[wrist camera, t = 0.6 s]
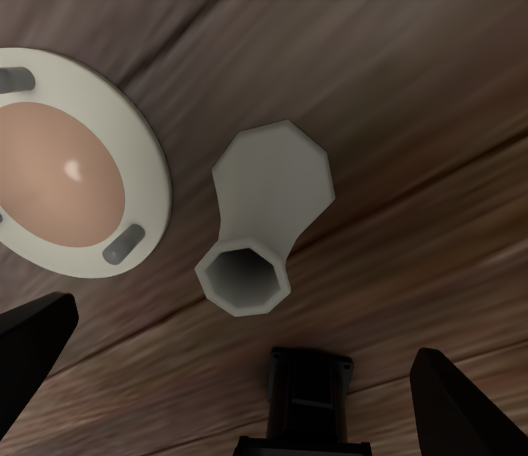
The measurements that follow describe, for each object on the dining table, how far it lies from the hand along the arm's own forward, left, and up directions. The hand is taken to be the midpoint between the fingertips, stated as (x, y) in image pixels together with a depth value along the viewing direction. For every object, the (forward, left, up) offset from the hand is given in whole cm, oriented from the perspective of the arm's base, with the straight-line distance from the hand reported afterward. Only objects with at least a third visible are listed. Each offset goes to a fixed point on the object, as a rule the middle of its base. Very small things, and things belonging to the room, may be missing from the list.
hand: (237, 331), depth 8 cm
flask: (-1, 0, -13) cm, 13 cm away
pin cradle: (-2, +14, -13) cm, 19 cm away
